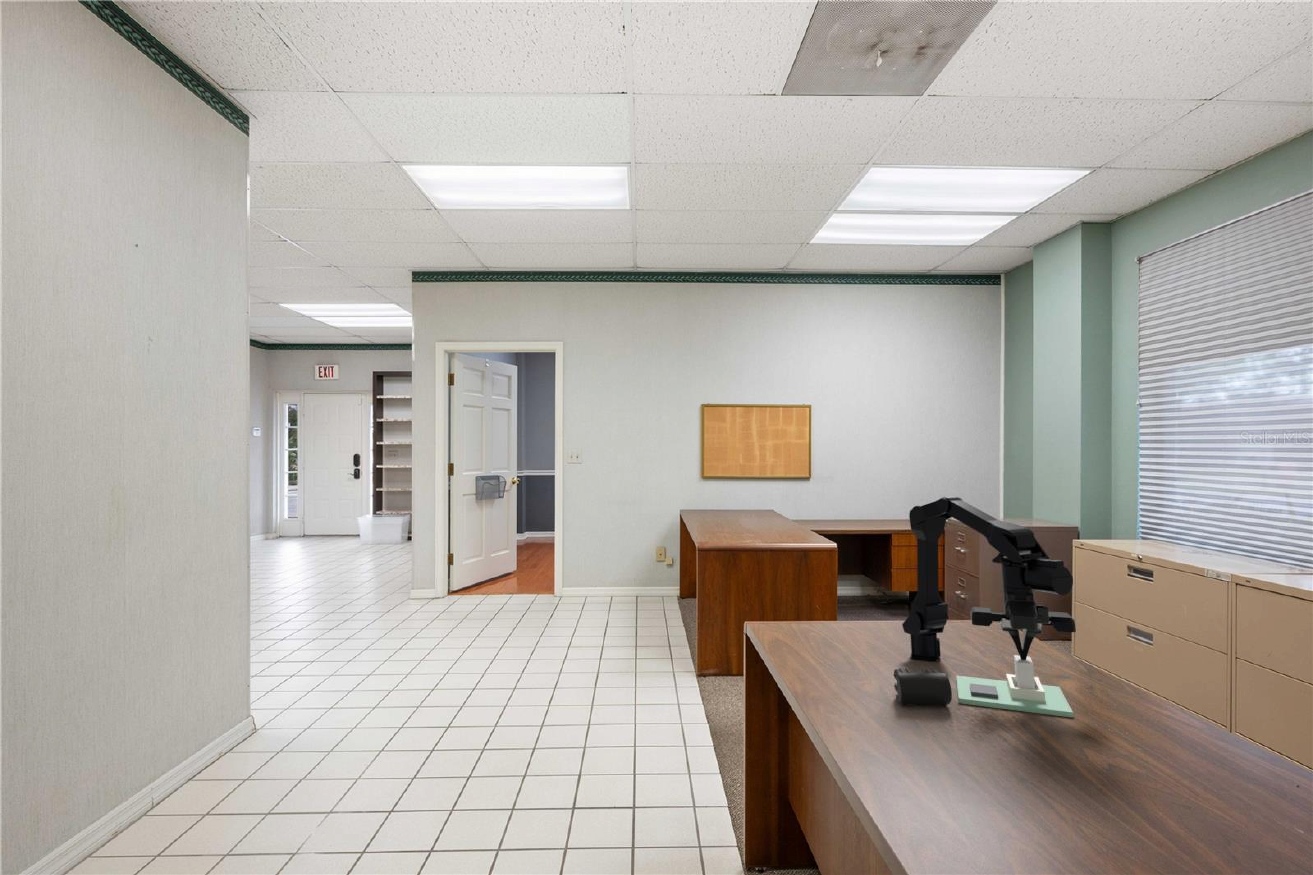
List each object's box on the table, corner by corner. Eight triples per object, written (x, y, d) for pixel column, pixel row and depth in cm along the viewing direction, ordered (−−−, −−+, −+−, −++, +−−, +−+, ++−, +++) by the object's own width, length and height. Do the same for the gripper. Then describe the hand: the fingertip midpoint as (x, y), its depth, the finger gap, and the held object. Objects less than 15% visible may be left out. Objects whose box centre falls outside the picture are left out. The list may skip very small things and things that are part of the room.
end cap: (902, 711, 120) (900, 677, 120) (893, 697, 127) (891, 665, 127) (953, 712, 118) (951, 678, 119) (941, 698, 125) (939, 666, 126)
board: (958, 703, 122) (957, 688, 122) (956, 680, 135) (955, 666, 135) (1073, 717, 114) (1072, 702, 114) (1059, 691, 126) (1058, 677, 126)
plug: (1018, 696, 122) (1016, 662, 123) (1015, 686, 128) (1013, 653, 128) (1035, 698, 121) (1033, 664, 121) (1031, 688, 126) (1029, 655, 127)
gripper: (970, 591, 122) (976, 666, 121) (1078, 597, 114) (1084, 677, 113) (968, 581, 132) (973, 650, 131) (1067, 585, 124) (1072, 659, 123)
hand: (1023, 659), depth 124 cm, fingers closed, pressing on plug
